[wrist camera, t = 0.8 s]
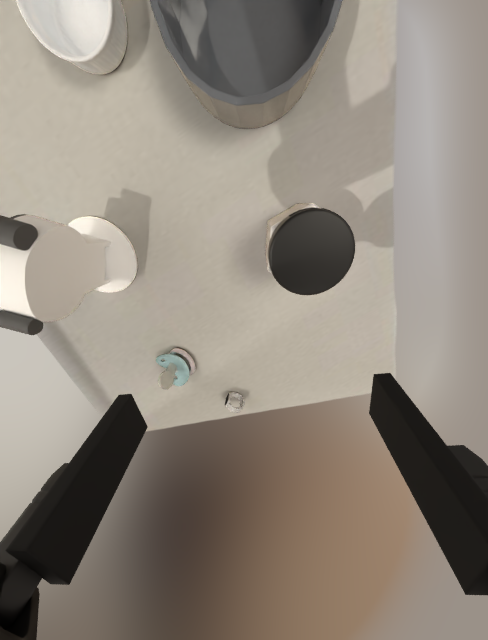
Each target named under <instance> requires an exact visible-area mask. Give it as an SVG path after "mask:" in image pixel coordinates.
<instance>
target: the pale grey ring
mask: <svg viewBox="0 0 488 640" xmlns="http://www.w3.org/2000/svg"><path fill="white" fill-rule="evenodd" d="M231 397H236V398H238V400H239V401H240V407H233V406H232V405H231V404H230V401H231ZM244 404H245V401H244V398H243V397H242V396H241V395H240V394H239V393H236V392H231V393H228V395H227V397H226V402H225V407H226V408H228V409H229V410H230V411H231V412H234V413H238V412H240V411H241V410H242V408H243V407H244Z"/></svg>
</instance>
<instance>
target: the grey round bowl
mask: <svg viewBox="0 0 488 640" xmlns="http://www.w3.org/2000/svg"><path fill="white" fill-rule="evenodd" d="M342 1H343V0H150V2H151V7H152V11H153V13H154V16H155V19H156V21H157V24H158V27H159V29H160V32H161V35H162V37H163V40H164V43H165V45H166V48H167V49H168V51H169V53H170V55H171V56H172V58H173V60H174V61H175V63H176V65H177V67H178V68H179V70H180V72H181V73H182V75H183V77H184V79H185V80H186V82H187V84H188V85H189V87H190V88H191V90H192V91H193V93H194V94H195V96H196V97H197V99H198V100H199V102H200V103H201V105H202V106H203V107H204V108H205V109H206V110H207V111H208V112H209V113H210V114H212V115H213V116H214V117H215V118H217V119H218V120H220V121H221V122H223V123H225V124H227V125H230V126H233V127H237V128H243V129H252V128H259V127H263V126H266V125H268V124H271V123H273V122H274V121H276V120H278V119H279V118H281V117H282V116H283V115H285V114H286V113H287V112H288V111H289V110H290V109H291V108H292V107H293V106H294V105H295V104H296V103H297V101H298V100H299V99H300V98H301V96H302V94H303V93H304V91H305V90H306V88H307V86H308V84H309V82H310V80H311V79H312V77H313V75H314V73H315V71H316V69H317V67H318V64H319V62H320V60H321V57H322V55H323V53H324V50H325V48H326V46H327V43H328V41H329V39H330V37H331V34H332V32H333V30H334V27H335V23H336V20H337V17H338V14H339V10H340V7H341V4H342Z"/></svg>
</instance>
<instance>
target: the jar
mask: <svg viewBox="0 0 488 640" xmlns="http://www.w3.org/2000/svg"><path fill="white" fill-rule="evenodd" d="M354 254H355V240H354V236H353V233H352V230H351V228H350V226H349V225H348V224H347V222H346V221H345V220H344V219H343V218H342V217H341V216H339V215H338V214H336V213H334V212H332V211H330V210H327V209H324V208H319V207H318V206H317V205H315V204H314V203H298V204H296V205H294V206H292V207H291V208H289V209H287V210H285V211H284V212H282V213H280V214H279V215H277V216H275V217H273V218H272V219H270V220H268V221H267V234H266V250H265V255H266V262H267V268H268V271H269V272H271V273H272V274H273V276H274V278H275V279H276V281H277V282H278V283H279V284H280V285H281V286H282V287H284V288H285V289H286V290H288V291H290V292H293V293H296V294H300V295H314V294H319V293H322V292H324V291H327V290H329V289H330V288H332V287H334V286H335V285H336V284H337V283H339V282H340V281H341V280H342V279H343V277H344V276H345V275H346V274H347V272H348V270H349V269H350V267H351V264H352V262H353V259H354Z"/></svg>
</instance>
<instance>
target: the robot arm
mask: <svg viewBox="0 0 488 640" xmlns="http://www.w3.org/2000/svg"><path fill="white" fill-rule="evenodd" d="M369 414H370V415H371V418H372V419H373V421H374V423H375V425H376V427H377V429H378V431H379V433H380V434H381V436H382V438H383V440H384V442H385V444H386V446H387V448H388V450H389V451H390V453H391V455H392V457H393V459H394V461H395V463H396V465H397V466H398V468H399V470H400V472H401V474H402V476H403V477H404V479H405V482H406V483H407V485H408V487H409V489H410V491H411V492H412V495H413V497H414V498H415V500H416V502H417V504H418V506H419V508H420V510H421V512H422V514H423V515H424V517H425V519H426V521H427V523H428V525H429V526H430V529H431V530H432V532H433V534H434V536H435V538H436V540H437V542H438V543H439V545H440V547H441V549H442V551H443V553H444V555H445V557H446V559H447V560H448V562H449V564H450V566H451V568H452V570H453V572H454V574H455V576H456V577H457V579H458V581H459V583H460V585H461V587H462V589H463V591H464V592H465V594H466V595H488V466H487V465H486V463H485V462H484V461H483V460H482V459H481V458H480V457H479V456H477V455H476V454H474V453H473V452H472V451H470V450H469V449H468V448H466V447H465V446H464V445H456V446H447V445H446V444H445V443H444V442H443V440H442V439H441V438H440V436H439V435H438V434H437V433H436V431H435V430H434V429H433V427H432V426H431V425H430V424H429V422H428V421H427V420H426V418H425V417H424V416H423V415H422V413H421V412H420V411H419V409H418V408H417V407H416V406H415V404H414V403H413V402H412V401H411V399H410V398H409V397H408V396H407V394H406V393H405V392H404V390H403V389H402V388H401V386H400V385H399V384H398V383H397V381H396V380H395V379H394V378H393V376H392V375H391V374H390V373H385V374H374V377H373V386H372V394H371V403H370V411H369ZM146 429H147V425H146V423H145V421H144V419H143V417H142V415H141V413H140V411H139V409H138V407H137V405H136V402H135V400H134V398H133V396H132V394H125V395H118V397H117V398H116V400H115V401H114V402H113V404H112V405H111V406H110V408H109V409H108V411H107V412H106V413H105V415H104V416H103V417H102V419H101V420H100V421H99V423H98V424H97V426H96V427H95V428H94V430H93V431H92V433H91V434H90V435H89V437H88V438H87V439H86V441H85V442H84V443H83V445H82V446H81V448H80V449H79V450H78V452H77V453H76V454H75V456H74V457H73V459H72V460H71V461H70V463H65V464H63V465H62V466H61V467H60V468H59V469H58V470H57V471H56V472H55V473H53V474H52V475H51V477H50V478H49V479H48V480H47V482H46V483H45V484H44V486H43V487H42V488H41V491H40V492H38V494H37V495H36V496H35V498H34V499H33V501H32V503H30V504H29V505H28V507H27V508H26V509H25V511H24V512H23V513H22V515H21V516H20V517H19V518H18V520H17V521H16V523H15V524H14V525H13V526H12V528H11V529H10V530H9V532H8V533H7V534H6V536H5V537H4V538H3V540H2V541H1V542H0V640H36V637H37V621H38V606H39V589H38V588H37V586H38V584H39V582H40V580H41V579H42V578H43V579H44V580H46V581H47V582H49V583H50V584H67V585H69V584H70V582H71V580H72V578H73V576H74V574H75V572H76V570H77V568H78V566H79V564H80V562H81V560H82V558H83V556H84V554H85V552H86V550H87V548H88V546H89V544H90V542H91V540H92V538H93V536H94V534H95V532H96V530H97V528H98V526H99V524H100V522H101V520H102V518H103V516H104V514H105V512H106V510H107V508H108V506H109V504H110V502H111V500H112V498H113V496H114V493H115V492H116V490H117V488H118V486H119V484H120V482H121V480H122V478H123V475H124V473H125V471H126V469H127V467H128V465H129V463H130V461H131V459H132V457H133V455H134V453H135V451H136V449H137V447H138V445H139V443H140V441H141V439H142V437H143V435H144V433H145V431H146Z"/></svg>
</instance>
